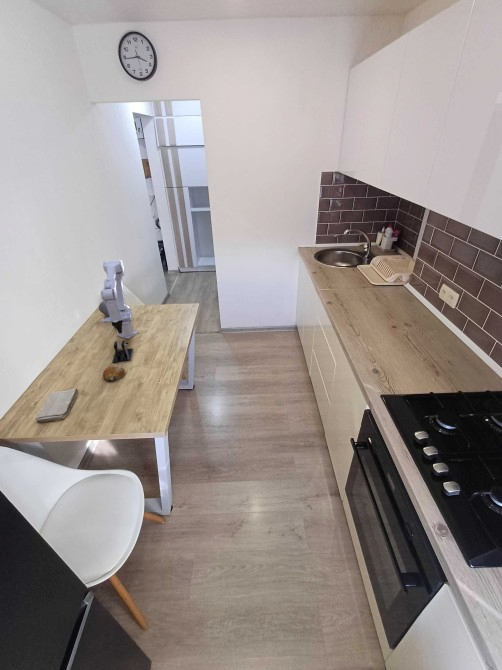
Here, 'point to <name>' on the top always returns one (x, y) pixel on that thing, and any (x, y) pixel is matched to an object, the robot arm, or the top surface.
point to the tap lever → (120, 345)
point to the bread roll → (113, 372)
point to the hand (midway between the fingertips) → (120, 332)
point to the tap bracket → (122, 353)
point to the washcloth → (57, 405)
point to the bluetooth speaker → (104, 309)
